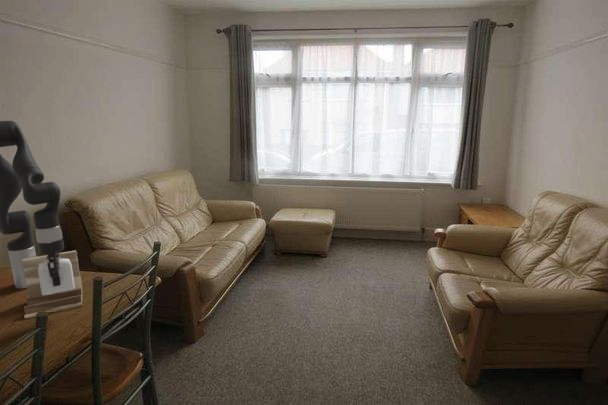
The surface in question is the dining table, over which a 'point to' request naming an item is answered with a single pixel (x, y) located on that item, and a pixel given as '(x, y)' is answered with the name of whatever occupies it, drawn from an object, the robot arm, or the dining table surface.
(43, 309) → the cleat board
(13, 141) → the robot arm
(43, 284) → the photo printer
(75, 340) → the dining table surface
